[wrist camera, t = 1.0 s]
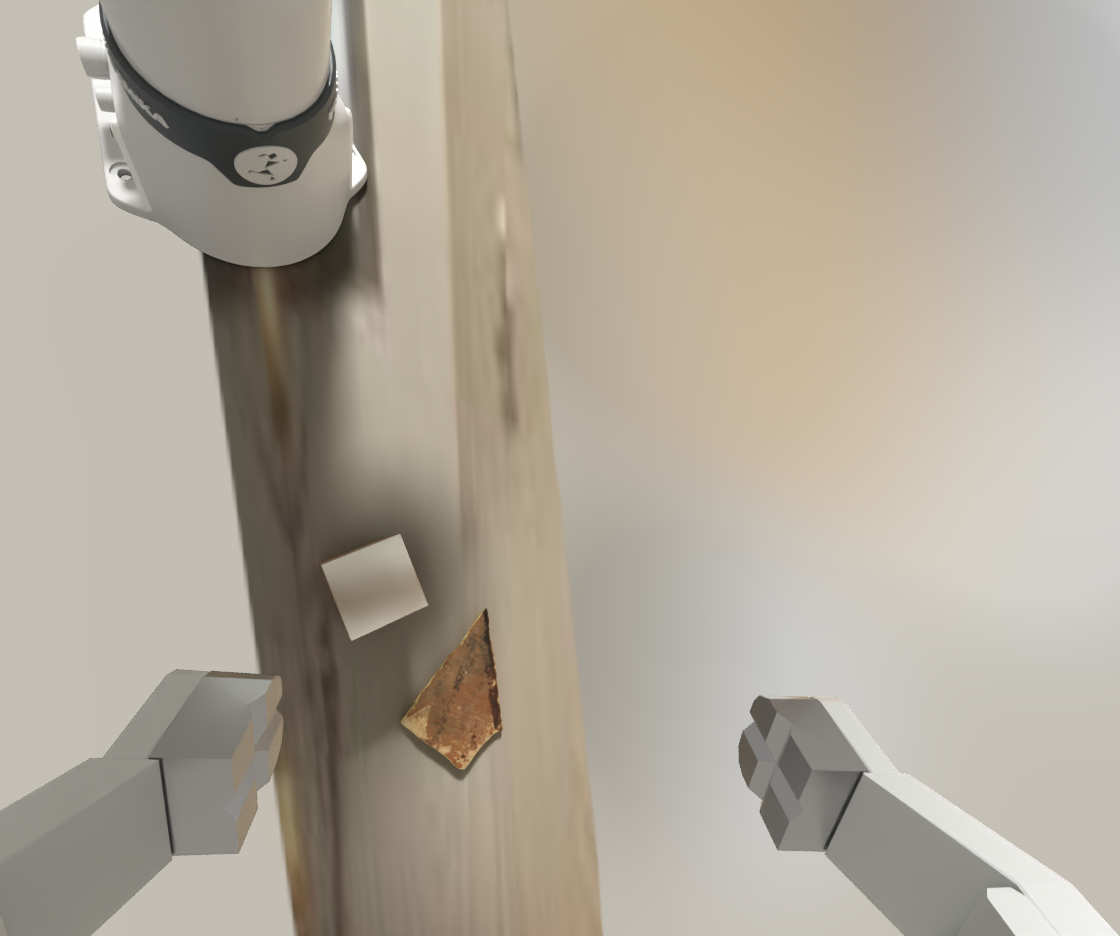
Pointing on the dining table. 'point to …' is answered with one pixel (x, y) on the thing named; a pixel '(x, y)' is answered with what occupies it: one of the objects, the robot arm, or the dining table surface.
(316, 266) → the dining table surface
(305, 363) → the dining table surface
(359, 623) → the wooden block
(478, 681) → the shard
